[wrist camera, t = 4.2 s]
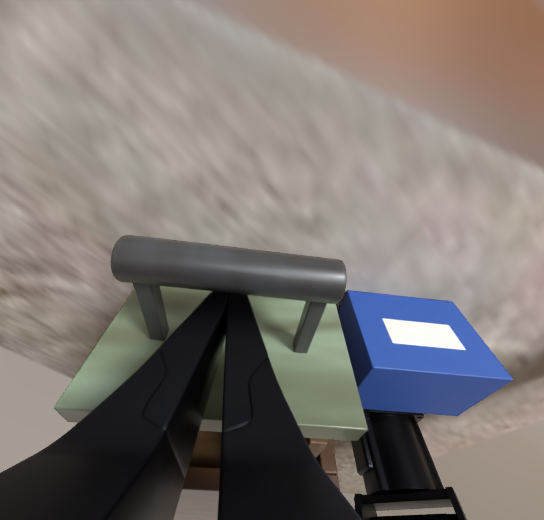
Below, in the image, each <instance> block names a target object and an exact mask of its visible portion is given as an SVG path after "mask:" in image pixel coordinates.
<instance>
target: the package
mask: <svg viewBox="0 0 544 520" xmlns="http://www.w3.org/2000/svg"><path fill="white" fill-rule="evenodd" d="M338 315H339V319H340V323H341V327H342V331H343V334H344V338H345V342H346V346H347V350H348V354H349V358H350V362H351V365H352V369H353V373H354V377H355V381H356V385H357V389H358V392H359V396H360V400H361V404H362V408H363V409H371V410H384V411H397V412H411V413H424V414H437V415H450V416H458V415H460V414H461V413H463V412H464V411H466V410H467V409H469V408H471V407H472V406H474V405H475V404H477V403H478V402H480V401H481V400H483V399H485V398H486V397H488V396H489V395H491V394H492V393H494V392H496V391H497V390H499V389H500V388H502V387H503V386H505V385H506V384H508V383H510V382H511V381H513V378H512V377H511V376H510V374H509V373H508V372H507V371H506V369H505V368H504V367H503V365H502V364H501V363H500V362H499V360H498V359H497V358H496V357H495V355H494V354H493V353H492V351H491V350H490V349H489V348H488V346H487V345H486V344H485V343H484V341H483V340H482V339H481V337H480V336H479V335H478V334H477V332H476V331H475V330H474V329H473V327H472V326H471V325H470V323H469V322H468V321H467V320H466V318H465V317H464V316H463V314H462V313H461V312H460V311H459V309H458V308H457V307H456V306H455V304H454V303H453V302H449V301H440V300H431V299H422V298H413V297H403V296H394V295H385V294H376V293H367V292H358V291H347V293H346V295H345V297H344V299H343V301H342V304H341V306H340V308H339V310H338Z"/></svg>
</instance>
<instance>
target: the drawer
mask: <svg viewBox="0 0 544 520" xmlns="http://www.w3.org/2000/svg"><path fill="white" fill-rule="evenodd" d="M111 269H112V273H113V275H114V277H115V278H116V279H117V280H119V281H121V282H129V283H133V285H134V288H135V289H134V290H133V292H132V293H131V295H130V296H129V297H128V299H127V300H126V302H125V303H124V305H123V306H122V308H121V309H120V311H119V312H118V314H117V315H116V317H115V318H114V320H113V321H112V323H111V324H110V325H109V327H108V328H107V330H106V331H105V333H104V334H103V336H102V337H101V339H100V340H99V342H98V343H97V345H96V346H95V348H94V349H93V350H92V352H91V353H90V355H89V356H88V358H87V359H86V361H85V362H84V364H83V365H82V367H81V368H80V370H79V371H78V373H77V374H76V376H75V377H74V378H73V380H72V381H71V383H70V384H69V386H68V388H67V389H66V390H65V392H64V393H63V395H62V396H61V398H60V399H59V401H58V402H57V403H56V405H55V407H54V409H55V410H56V411H57V412H58V413H59V414H60V415H61V416H62V417H63V418H65V420H67V421H68V422H78V423H79V422H80V421H81V420H82V419H83V418H84V417H85V416H87V415H88V414H89V413H90V412H91V411H92V410H93V409H94V408H96V407H97V406H98V405H99V404H100V403H101V402H102V401H104V400H105V399H106V398H107V397H108V396H109V395H110V394H111V393H113V392H114V391H115V390H116V389H117V388H118V387H119V386H120V385H122V384H123V383H124V382H125V381H126V380H127V379H128V378H129V377H130V376H131V375H132V374H133V373H135V372H136V371H137V370H138V369H139V368H140V367H141V366H142V365H143V364H144V363H145V362H146V361H147V360H148V359H149V358H150V356H151V355H152V354H153V353H154V352H155V351H156V350H157V349H158V348H160V346H161V345H162V344H163V343H164V342H165V341H166V339H167V338H168V337H169V336H170V335H171V334H172V333H173V332H174V331H175V330H176V329H177V328H178V327H179V326H180V325H181V323H182V322H183V321H184V320H185V319H186V318H187V317H188V316H189V315H190V314H191V313H192V312H193V311H194V310H195V309H196V307H197V306H198V305H199V304H200V303H201V302H202V301H203V300H204V299H205V298H206V297H207V296H208V295H209V294H210V293H211V291H214V292H224V293H233V294H243V295H248V297H249V300H250V303H251V306H252V309H253V312H254V315H255V318H256V321H257V324H258V327H259V330H260V332H261V335H262V338H263V341H264V344H265V347H266V350H267V353H268V357H269V359H270V362H271V365H272V368H273V370H274V373H275V376H276V378H277V381H278V383H279V386H280V388H281V390H282V392H283V395H284V397H285V399H286V401H287V403H288V405H289V407H290V409H291V411H292V413H293V416H294V418H295V420H296V422H297V424H298V426H299V428H300V430H301V432H302V434H303V436H304V438H305V440H306V442H307V444H308V446H309V448H310V450H311V451H312V453H313V455H314V457H315V458H316V457H317V456H318V455H319V454H320V453H321V451H322V450H323V449H324V448H325V447H326V446H327V444H328V442H327V439H334V440H349V441H357V440H358V439H359V438H360V437H361V436H362V435H363V434H364V433H366V432H367V431H368V427H367V423H366V420H365V416H364V412H363V408H362V404H361V400H360V396H359V392H358V389H357V385H356V381H355V377H354V373H353V369H352V365H351V362H350V358H349V354H348V350H347V346H346V342H345V338H344V334H343V331H342V327H341V323H340V319H339V315H338V311H337V307H336V304H337V303H339V302H340V301H341V300H342V298H343V295H344V292H345V287H346V269H345V265H344V263H343V262H342V261H341V260H338V259H330V258H321V257H313V256H304V255H296V254H287V253H279V252H270V251H262V250H253V249H245V248H236V247H228V246H219V245H211V244H202V243H194V242H185V241H177V240H168V239H160V238H151V237H143V236H134V235H125V236H122V237H121V238H120V239H119V240H118V241H117V242H116V244H115V246H114V248H113V251H112V256H111ZM224 363H225V342H224V346H223V349H222V353H221V356H220V360H219V363H218V367H217V370H216V374H215V377H214V381H213V384H212V387H211V391H210V394H209V398H208V401H207V405H206V408H205V412H204V415H203V419H202V422H201V425H200V429H199V432H198V436H197V439H196V443H195V446H194V450H193V453H192V457H191V460H190V464H189V466H195V467H213V468H220V461H221V438H222V413H223V388H224Z"/></svg>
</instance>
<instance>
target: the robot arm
mask: <svg viewBox="0 0 544 520" xmlns="http://www.w3.org/2000/svg"><path fill="white" fill-rule="evenodd" d="M224 342H225V363H224V388H223V413H222V438H221V461H220V480H219V499H218V518H217V520H467V519H466V517H465V514H464V512H463V510H462V507H461V505H460V503H459V500H458V498H457V496H456V494H455V492H454V490H453V488H452V487H446V489H444V487H443V485H442V483H441V480H440V478H439V476H438V473H437V470H436V468H435V465H434V463H433V460H432V458H431V455H430V453H429V451H428V448H427V446H426V443H425V441H424V438H423V436H422V433H421V431H420V428H419V426H418V423H417V422H419V421H420V420H421V419H423V418H424V414H423V413H411V412H397V411H384V410H371V409H363V412H364V416H365V420H366V423H367V427H368V431H367V432H366V433H364V434H363V435H362V436H361V437H360V438H359V439H358V440H357V441H351V443H352V447H353V452H354V457H355V462H356V467H357V472H358V473H359V475H362V476H363V478H364V483H365V488H366V492H367V495H362V494H355V498H354V501H355V510H354V509H353V507H352V506H351V505H350V503H349V502H348V501H347V500H346V498H345V497H344V496H343V495H342V493H341V492H340V491H339V489H338V488H337V487H336V485H335V484H334V483H333V482H332V480H331V479H330V478H329V476H328V475H327V474H326V473H325V471H324V470H323V469H322V467H321V466H320V465H319V463H318V461H317V460H316V458H315V457H314V455H313V453H312V451H311V450H310V448H309V446H308V444H307V442H306V440H305V438H304V436H303V434H302V432H301V430H300V428H299V426H298V424H297V422H296V420H295V418H294V416H293V413H292V411H291V409H290V407H289V405H288V403H287V401H286V399H285V397H284V395H283V392H282V390H281V388H280V386H279V383H278V381H277V378H276V376H275V373H274V370H273V368H272V365H271V362H270V359H269V357H268V353H267V350H266V347H265V344H264V341H263V338H262V335H261V332H260V330H259V327H258V324H257V321H256V318H255V315H254V312H253V309H252V306H251V303H250V300H249V297H248V295H243V294H233V293H224V292H214V291H211V293H210V294H209V295H208V296H207V297H206V298H205V299H204V300H203V301H202V302H201V303H200V304H199V305H198V306H197V307H196V309H195V310H194V311H193V312H192V313H191V314H190V315H189V316H188V317H187V318H186V319H185V320H184V321H183V322H182V323H181V325H180V326H179V327H178V328H177V329H176V330H175V331H174V332H173V333H172V334H171V335H170V336H169V337H168V338H167V339H166V341H165V342H164V343H163V344H162V345H161V346H160V348H158V349H157V350H156V351H155V352H154V353H153V354H152V355H151V356H150V358H149V359H148V360H147V361H146V362H145V363H144V364H143V365H142V366H141V367H140V368H139V369H138V370H137V371H136V372H135V373H133V374H132V375H131V376H130V377H129V378H128V379H127V380H126V381H125V382H124V383H123V384H122V385H120V386H119V387H118V388H117V389H116V390H115V391H114V392H113V393H111V394H110V395H109V396H108V397H107V398H106V399H105V400H104V401H102V402H101V403H100V404H99V405H98V406H97V407H96V408H94V409H93V410H92V411H91V412H90V413H89V414H88V415H87V416H85V417H84V418H83V419H82V420H81V421H80V422H79V423H78V424H76V426H74V427H73V428H72V429H71V430H70V431H68V432H67V433H66V434H64V435H63V436H62V437H61V438H59V439H58V440H56V441H55V442H54V443H52V444H51V445H49V446H48V447H46V448H45V449H43V450H41V451H40V452H38V453H36V454H34V455H33V456H31V457H29V458H27V459H25V460H24V461H22V462H20V463H18V464H16V465H14V466H12V467H11V468H9V469H7V470H5V471H3V472H1V473H0V520H173V519H174V516H175V512H176V509H177V505H178V502H179V498H180V495H181V491H182V488H183V484H184V481H185V477H186V474H187V470H188V467H189V464H190V460H191V457H192V453H193V450H194V446H195V443H196V439H197V436H198V432H199V429H200V425H201V422H202V419H203V415H204V412H205V408H206V405H207V401H208V398H209V394H210V391H211V387H212V384H213V381H214V377H215V374H216V370H217V367H218V363H219V360H220V356H221V353H222V349H223V346H224ZM438 507H439V508H441V507H453V508H454V510H455V512H456V514H427V515H405V516H404V515H403V516H382V517H381V516H380V517H377V513H376V511H382V510H401V509H421V508H438Z"/></svg>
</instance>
